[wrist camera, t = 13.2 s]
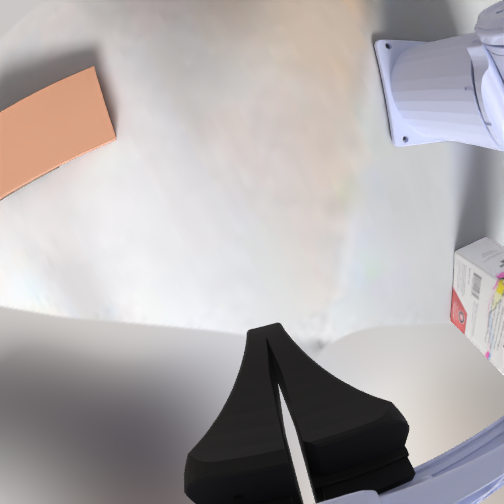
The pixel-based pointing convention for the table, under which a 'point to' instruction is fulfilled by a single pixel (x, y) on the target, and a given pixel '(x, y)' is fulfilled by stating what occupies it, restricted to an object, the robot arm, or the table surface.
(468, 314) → the ink cartridge box
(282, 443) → the robot arm
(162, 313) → the table surface
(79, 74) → the head domino
